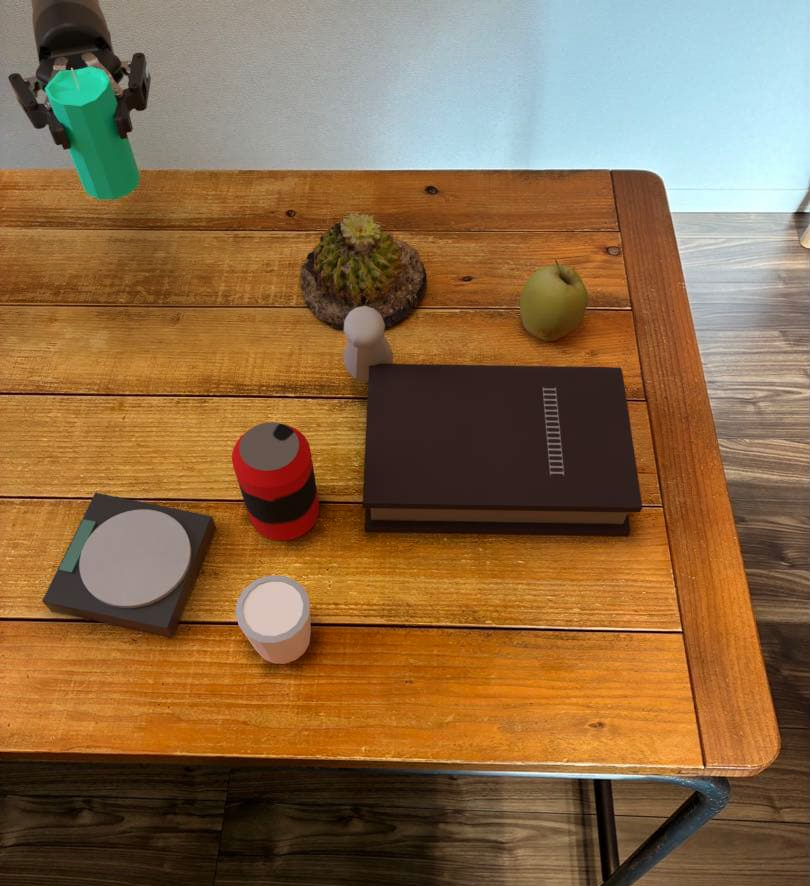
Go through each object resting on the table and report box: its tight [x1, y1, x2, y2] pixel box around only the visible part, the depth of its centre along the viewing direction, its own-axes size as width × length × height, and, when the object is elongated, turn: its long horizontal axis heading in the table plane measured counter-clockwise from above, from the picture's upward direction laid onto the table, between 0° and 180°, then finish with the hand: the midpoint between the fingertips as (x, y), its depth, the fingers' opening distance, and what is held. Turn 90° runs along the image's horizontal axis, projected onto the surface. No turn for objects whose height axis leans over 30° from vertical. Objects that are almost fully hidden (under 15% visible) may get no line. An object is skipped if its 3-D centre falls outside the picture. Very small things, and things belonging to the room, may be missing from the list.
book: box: [362, 363, 644, 538], centre depth 89 cm, size 28×20×6 cm
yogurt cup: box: [234, 574, 311, 665], centre depth 78 cm, size 7×7×7 cm
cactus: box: [299, 211, 428, 330], centre depth 101 cm, size 17×16×10 cm
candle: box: [45, 66, 141, 201], centre depth 81 cm, size 6×6×12 cm
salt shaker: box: [342, 306, 394, 384], centre depth 90 cm, size 6×6×13 cm
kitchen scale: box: [41, 492, 217, 639], centre depth 83 cm, size 13×13×3 cm
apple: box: [519, 259, 589, 342], centre depth 97 cm, size 8×8×10 cm
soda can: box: [231, 421, 320, 541], centre depth 83 cm, size 8×8×12 cm
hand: (93, 135), depth 79 cm, fingers closed on candle, 5 cm apart
